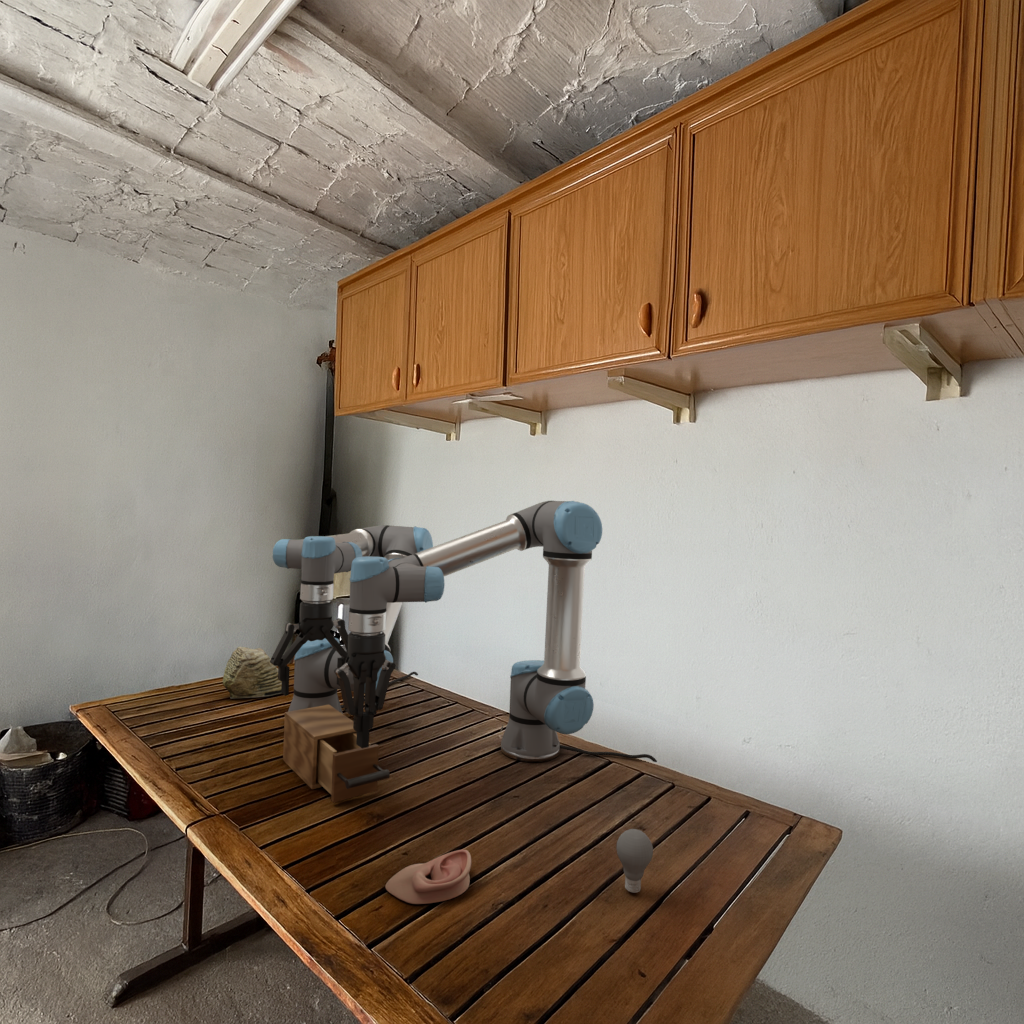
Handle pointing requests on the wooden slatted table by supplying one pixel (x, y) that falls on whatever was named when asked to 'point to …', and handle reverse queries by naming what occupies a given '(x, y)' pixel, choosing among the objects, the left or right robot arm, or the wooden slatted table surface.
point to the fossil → (251, 674)
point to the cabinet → (310, 738)
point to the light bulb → (634, 857)
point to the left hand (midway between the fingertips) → (313, 689)
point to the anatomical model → (432, 879)
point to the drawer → (347, 767)
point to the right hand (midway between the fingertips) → (362, 745)
